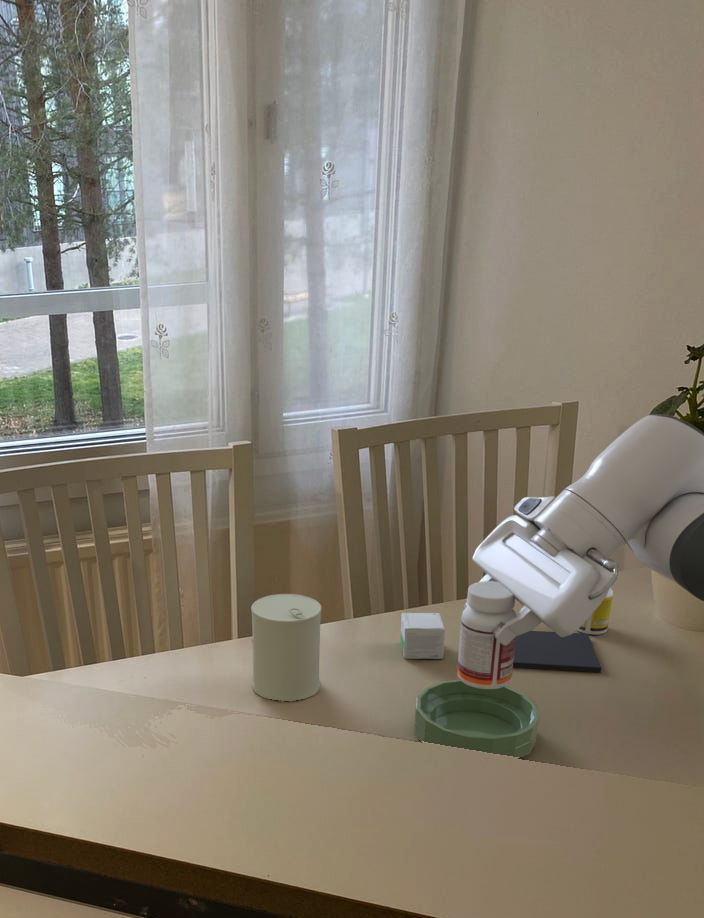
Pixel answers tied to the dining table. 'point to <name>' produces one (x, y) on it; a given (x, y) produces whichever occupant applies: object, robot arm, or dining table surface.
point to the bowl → (477, 718)
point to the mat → (555, 652)
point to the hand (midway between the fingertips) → (483, 625)
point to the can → (286, 647)
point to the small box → (422, 636)
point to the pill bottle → (486, 637)
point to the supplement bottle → (599, 617)
